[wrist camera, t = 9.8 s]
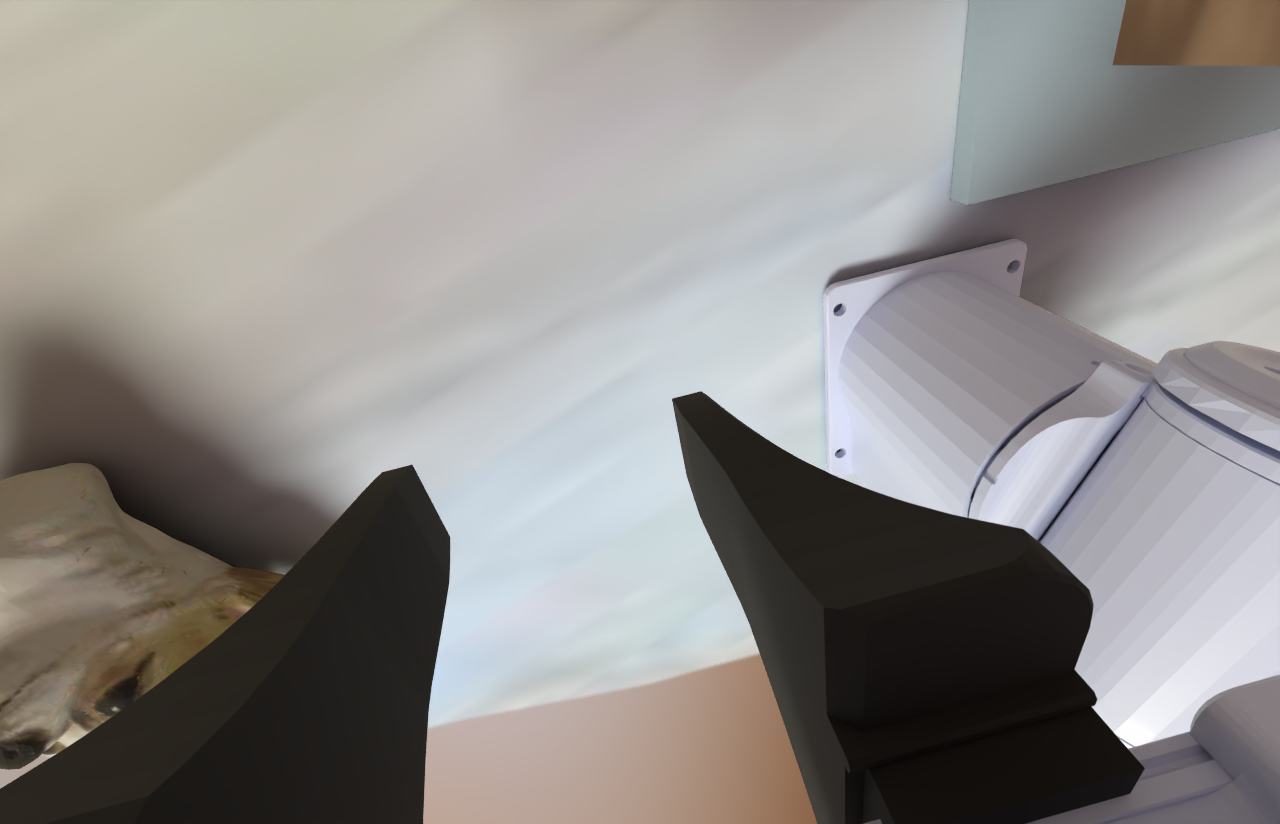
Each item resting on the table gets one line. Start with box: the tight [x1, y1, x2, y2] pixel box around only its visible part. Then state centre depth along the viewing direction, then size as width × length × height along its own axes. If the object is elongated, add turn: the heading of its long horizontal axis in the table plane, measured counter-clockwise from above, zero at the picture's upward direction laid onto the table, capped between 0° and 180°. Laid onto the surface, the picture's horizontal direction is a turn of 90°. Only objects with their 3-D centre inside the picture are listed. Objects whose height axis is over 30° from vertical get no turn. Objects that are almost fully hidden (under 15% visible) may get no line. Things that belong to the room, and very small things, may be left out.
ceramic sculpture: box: [0, 463, 285, 770], centre depth 21 cm, size 11×9×15 cm
